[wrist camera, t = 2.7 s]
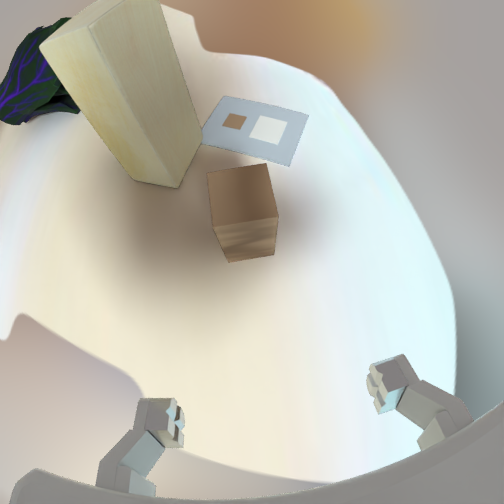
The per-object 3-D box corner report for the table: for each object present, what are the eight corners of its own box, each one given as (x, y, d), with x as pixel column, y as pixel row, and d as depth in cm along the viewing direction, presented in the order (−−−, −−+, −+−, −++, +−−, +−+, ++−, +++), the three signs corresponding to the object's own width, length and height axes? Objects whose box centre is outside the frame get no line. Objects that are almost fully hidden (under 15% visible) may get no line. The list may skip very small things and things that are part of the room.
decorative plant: (69, 116, 49) (175, 53, 41) (2, 182, 32) (115, 92, 24) (33, 54, 34) (136, -26, 26) (-49, 102, 17) (51, -31, 10)
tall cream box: (156, 130, 33) (92, 0, 13) (205, 136, 32) (155, -19, 12) (127, 179, 31) (31, 50, 11) (178, 189, 30) (88, 27, 10)
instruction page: (194, 142, 32) (194, 140, 32) (224, 96, 35) (223, 95, 34) (289, 166, 30) (289, 165, 30) (308, 116, 33) (309, 114, 33)
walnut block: (228, 262, 27) (212, 227, 19) (222, 220, 29) (206, 173, 20) (274, 254, 28) (278, 216, 19) (265, 213, 29) (266, 163, 20)
